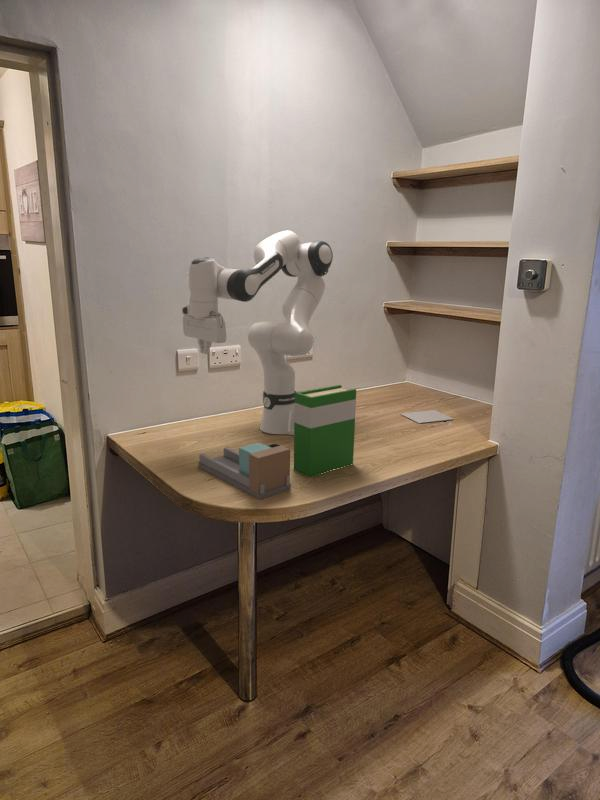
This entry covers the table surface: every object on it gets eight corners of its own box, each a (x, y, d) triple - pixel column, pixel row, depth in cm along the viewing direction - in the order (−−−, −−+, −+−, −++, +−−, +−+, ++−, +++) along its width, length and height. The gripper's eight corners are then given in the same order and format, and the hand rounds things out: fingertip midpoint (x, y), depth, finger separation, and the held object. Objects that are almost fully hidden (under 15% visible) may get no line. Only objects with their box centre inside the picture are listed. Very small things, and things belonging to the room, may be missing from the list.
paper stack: (469, 427, 219) (470, 425, 219) (414, 434, 210) (414, 432, 209) (433, 411, 240) (434, 409, 240) (381, 417, 231) (381, 415, 230)
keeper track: (228, 459, 180) (227, 424, 177) (290, 488, 159) (291, 449, 156) (198, 467, 173) (197, 430, 170) (259, 499, 152) (259, 458, 149)
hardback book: (336, 457, 183) (339, 384, 177) (353, 464, 178) (356, 389, 172) (293, 470, 173) (294, 392, 167) (309, 477, 167) (311, 397, 161)
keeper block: (259, 472, 166) (259, 442, 163) (274, 479, 161) (274, 449, 158) (239, 478, 161) (239, 447, 159) (254, 485, 156) (254, 454, 154)
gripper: (231, 312, 177) (231, 357, 180) (195, 307, 191) (196, 348, 195) (213, 313, 173) (214, 359, 176) (178, 308, 187) (180, 350, 191)
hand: (204, 353), depth 186 cm, fingers closed
